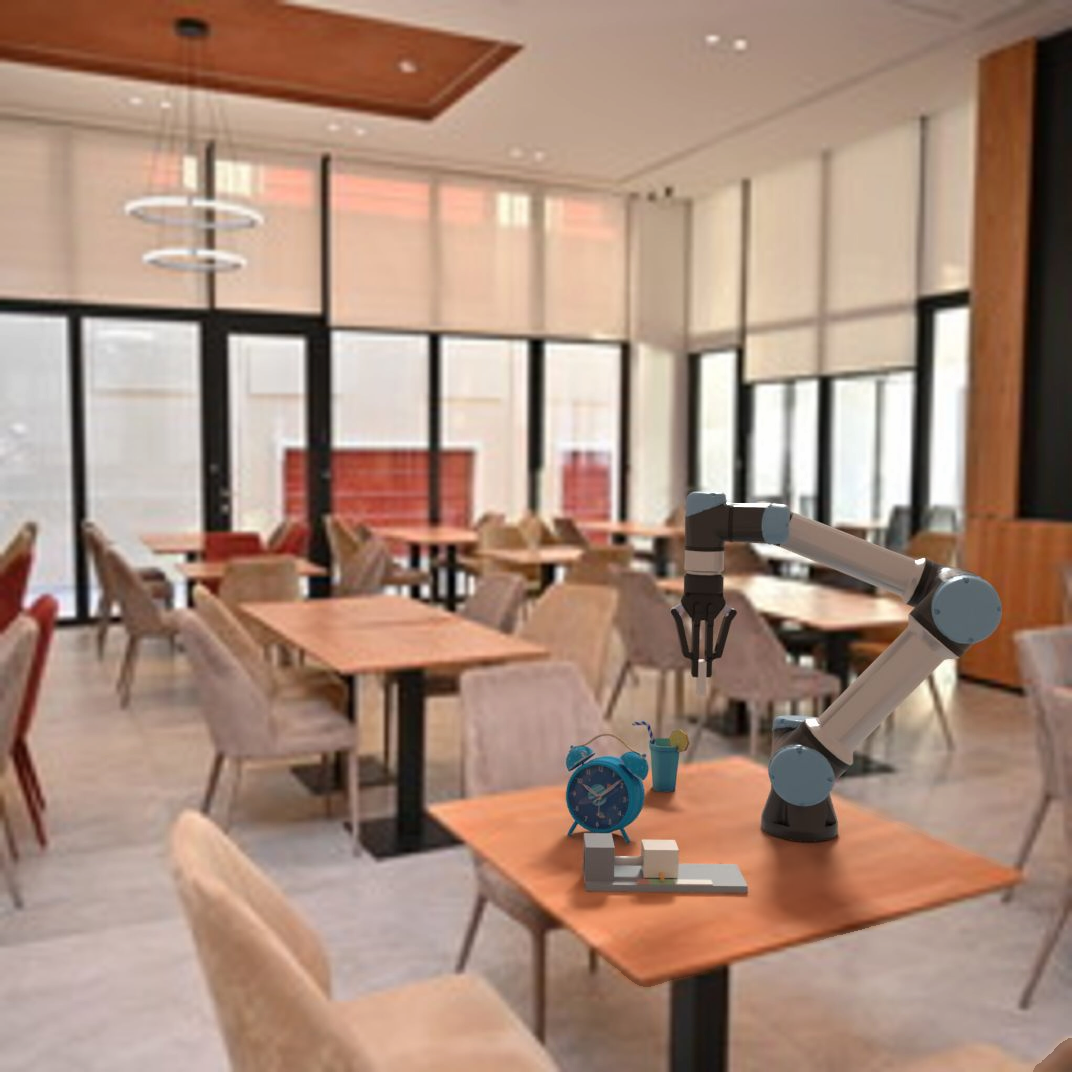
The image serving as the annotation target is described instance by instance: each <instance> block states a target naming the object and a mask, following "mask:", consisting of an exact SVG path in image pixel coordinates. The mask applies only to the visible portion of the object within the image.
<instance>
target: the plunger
mask: <svg viewBox="0 0 1072 1072" xmlns="http://www.w3.org/2000/svg"><path fill="white" fill-rule="evenodd" d="M640 852H641V853H640V856H638V855H637V856H636V855H633V856H632V855H625V856H624V855H615V859H614V866H641V869H642V872H643V876H644V878H660V880H661V881H664V878H678V866H679V863H680V862H679V859H680V858H679V857H680V853H679V852H680V849H679V846H678V844H677V842H676V839H641V846H640Z"/></svg>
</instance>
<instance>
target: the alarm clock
mask: <svg viewBox="0 0 1072 1072" xmlns="http://www.w3.org/2000/svg"><path fill="white" fill-rule="evenodd" d="M605 736H607V737H612V738H615V739H617V740H618V741H620V743H622V744H623V746H624V747H626V748H627V749H628V750H629V751H627V752H624V753H623V754H621V755H620V757H617V756H613V755H604V756H599V757H598V756H597V757H595V758H593V759H592V757H594V756H595V755H596V752H595V751H594V750H593V749H592V748H590V747H588V745H589V744H591V743H592V742H593V741H595V740H597V739H598V738H601V737H605ZM569 748H570V750H568V754H567V756H566V759H565V766H566V769H567V771H568V772H572V771H573V770H574V771H573V773H572V775H571V776H570V778H569V779H568V782H567V786H566V791H565V802H566V807H567V809H568V811H569V814H570V816H571V817H572V819H573V820H574V822H573V823H572V825H571V826H570V828H569V829H568V831H567V836H571V835H573V833H574V831H575V830H576V828H577V826H578V825H579V826H580V827H582V828H583V829H585V830H586V831H589V832H590V833H613V832H617V831H620V833H621V835H622V837H623V839H624V841H625V842H626V844H627V845H629V844H631V841H630V838H629V836H628V833H627V832H626V830H625V828H626V827H628V826H630V825H631V824H632V823H633V822H634V821H635V820H636V819H638V817H639V816H640V813H642V810H643V807H644V804H645V803H644V802H645V786H644V781H645V780H646V778H647V777H648V774H649V769H650V768H649V763H648V760H647V754H646V753H642V752H639V751H638V750H636V749H633V748H632V747H630V746H629V745H628V743H626V742H625V741H624V740H623V739H622V738H621V737H619V736H618V735H615V734H613V733H609V732H607V733H601V734H598V735H596V736H594V737H593V738H592V739H590V740H588V741H587V742H585V743H582V744H578V745H575V746H574V745H570V746H569ZM590 759H591V760H590ZM588 760H589V761H588Z"/></svg>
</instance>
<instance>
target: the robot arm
mask: <svg viewBox="0 0 1072 1072" xmlns="http://www.w3.org/2000/svg"><path fill="white" fill-rule="evenodd" d="M684 517H685V518H684V521H685V522H684V525H685V526H684V566H683V568H684V570H685V571H686V572H685V574H684V575H683V594H682V598H681V599H680V603H678V604H677V605H675V606H671V607H670V608H669V610H668V611H669V613H670V614H671V616H672V617H673V620H674V623H675V627H676V632H677V637H678V642H679V647H680V650H681V654H682V655H683V657H684V658H686V659H689V660H690V674H691V677H692V678H695V694H696V695H697V696H702V697H703V696H706V695H707V678H709V679H710V678H712V676H713V661H715V660H717V659H721V658H722V656H723V653H724V650H725V646H726V642H727V638H728V636H729V632H730V628H731V625H732V621H733V620H734V619H735V617H736V615H737V614H738V611H737V610H736V609H735V608H733V607H730V605H727V604H726V603H727V602H726V599H725V596H724V583H725V582H724V581H725V578H724V577H725V576H724V574H723V573H722V572H723V571H724V570H725V543H742V544H743V543H746V544H748V543H749V544H764V545H765V544H767V545H770V546H771V545H773V546H775V547H779V548H781V549H784V550H786V551H788V552H791V553H793V554H795V555H798V556H801V557H803V558H806V559H809V560H811V561H813V562H815V563H818V564H821V565H823V566H824V567H825V566H826V567H828V568H830V569H832V570H835V571H838V572H839V573H842V574H845V575H846V576H849V577H852V578H855V579H857V580H859V581H862V582H865V583H867V584H869V585H872V586H875V587H877V588H879V589H882V590H884V591H886V592H889V593H892V594H894V595H896V596H899V597H900V598H901V600H902V602H903V604H905V605H908V606H910V607H913V609H912V610H910V611H909V613H908V614H907V615H908V617H907V618H908V625H907V627H906V628H905V629H904V630H903V631H902V632H901V633H900V634H899V635H898V636H897V637H896V638H895V639H894V640H893V642H891V643H890V644H889V645H888V647H886V649H884V650H883V652H881V653H880V654H879V656H878V657H877V658H876V659H875V660H873V662H872V663H871V664H870V665H869V666H868V667H867V668H866V669H865V670H864V671H862V673H861V674H860V675H859V676H858V677H857V678H856V679H855V680H854V681H853V682H852V683H851V684H850V685H849V686H848V687H847V688H846V689H845V690H844V691H843V692H842V693H841V694H840V695H839V696H838V698H836V699H835V700H834V701H833V702H832V703H831V705H829V706H828V707H827V709H825V711H824V712H822V713H821V714H820V715H819V717H815V716H806V715H778V716H776V717H775V718H774V719H773V723H772V728H771V732H772V740H771V741H772V742H771V752H770V759H769V763H768V767H767V768H768V769H767V772H768V777H769V781H770V791H769V794H768V796H767V798H766V802H765V804H764V807H763V810H762V812H761V815H760V816H761V818H760V826H761V829H762V830H763V831H764V832H766V833H767V834H769V835H770V836H773V837H775V838H779V839H782V840H789V841H795V842H805V843H817V842H824V841H829V840H831V839H834V838H835V837H837V835H838V832H839V820H838V817H837V815H836V811H835V807H834V804H833V800H832V797H831V792H832V790H833V788H834V786H835V782H836V781H837V779H839V778H840V777H841V776H842V775H843V774H844V773H845V772H846V771H847V770H848V769H849V768H850V767H851V766H852V765H853V764H854V755H853V754H854V751H855V750H856V749H857V748H858V747H859V746H860V745H861V744H862V743H863V742H864V741H865V740H867V737H869V736H870V735H871V734H872V733H873V732H874V731H875V730H876V729H877V728H878V727H879V726H880V725H881V724H882V723H883V722H884V721H885V720H886V719H887V718H888V717H889V716H890V715H891V714H892V713H893V712H894V711H895V710H896V709H897V708H898V707H899V706H900V705H901V704H902V703H903V702H905V700H906V699H907V698H908V697H909V696H910V695H911V694H912V693H913V692H914V691H915V690H916V689H918V687H920V685H921V684H922V683H923V682H924V681H925V680H926V679H928V677H929V676H930V675H932V673H933V672H934V671H936V669H937V668H938V667H939V666H941V664H942V663H943V662H944V661H945V660H957V659H960V658H961V657H962V656H963V655H964V654H965V653H966V652H967V651H968V650H969V649H970V648H971V647H972V646H973V645H974V644H976V643H980V642H982V641H984V640H985V639H988V638H989V637H990V636H992V634H993V633H994V632H995V631H996V630H997V629H998V626H999V625H1000V622H1001V619H1002V617H1003V616H1002V615H1003V608H1002V602H1001V598H1000V596H999V594H998V592H997V591H996V588H995V587H994V586H993V585H992V584H991V583H990V581H987V580H986V579H984V578H983V577H981V576H979V575H978V574H976V573H974V572H972V571H970V570H967V569H964V568H958V567H953V566H950V565H947V564H942V563H939V562H936V561H933V560H931V559H928V558H925V557H922V558H920V559H914V558H911V557H909V556H906V555H904V554H901V553H899V552H896V551H893V550H890V549H888V548H886V547H883V546H880V545H878V544H875V543H872V542H870V541H869V540H865V539H863V538H860V537H857V536H856V535H852V534H850V533H848V532H845V531H843V530H840V529H837V528H835V527H832V526H830V525H827V524H825V523H822V522H820V521H818V520H814V519H812V518H810V517H807V516H806V515H805V516H804V515H802V514H801V513H800V514H799V513H797V512H793V511H791V509H790V507H789V506H788V505H787V504H781V503H776V502H772V501H769V500H767V499H759V500H755V501H753V502H751V503H750V502H748V503H747V502H745V503H741V502H740V503H737V502H736V503H735V502H730V501H729V502H727V495H726V494H725V493H724V492H720V491H692V492H690V493H689V494H688V495H687V496H686V506H685V514H684ZM683 610H685V612H686V614H687V615H688V616H689V618H690V619H691V639H690V641H691V642H690V643H691V645H690V646H691V647H690V649H689V646H688V645H689V644H688V640H687V635H686V631H685V630H686V629H685V626H684V621H683V618H682V616H683V615H684V612H683ZM721 612H722V616H723V618H722V620H721V624H720V628H719V631H718V636H717V638H716V641H715V647H714V627H715V619H717V617H718V616H719V615H720V613H721ZM701 621H704V651H703V652H704V654H703V655H704V656H703V657H704V659H702V658H701V659H700V644H701V643H700V642H701V640H700V639H701V637H700V636H701V625H702V624H701Z"/></svg>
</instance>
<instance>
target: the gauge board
mask: <svg viewBox="0 0 1072 1072" xmlns="http://www.w3.org/2000/svg"><path fill="white" fill-rule="evenodd" d="M612 833H613V832H611V833H594V832H584V833H583V853H582V854H583V857H582V858H583V860H582V874H583V880H584V881H583V882H584V888H585V892H610V893H611V892H613V893H614V892H616V893H617V892H622V893H623V892H624V893H625V892H628V893H631V892H633V893H707V894H708V893H712V894H713V893H717V894H718V893H719V894H720V893H721V894H722V893H723V894H726V893H727V894H729V893H730V894H748V893H749V890H748V889H749V886H748V884H747V881H746V879H745V878H744V876H743V874H742V872H741V870H740V867H739V866H738V864H737V863H683V862H682V863H680V862H679V866H678V878H664V881H661V880H660V878H644V876H643V872H642V869H641V866H614V859H615V856H616V855H615V854H616V852H615V851H616V850H615V849H616V848H615V844H614V839H613V834H612Z"/></svg>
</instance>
